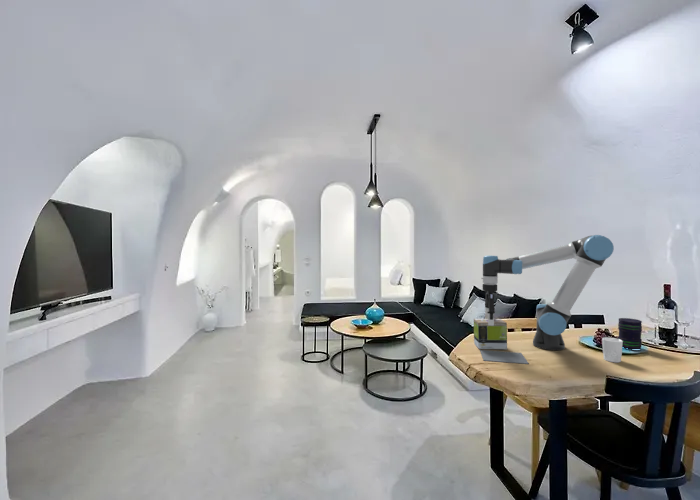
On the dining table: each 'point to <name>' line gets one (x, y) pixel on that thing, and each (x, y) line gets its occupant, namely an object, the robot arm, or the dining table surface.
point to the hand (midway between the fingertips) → (489, 322)
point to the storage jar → (630, 333)
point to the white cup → (612, 349)
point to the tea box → (490, 334)
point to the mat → (503, 356)
